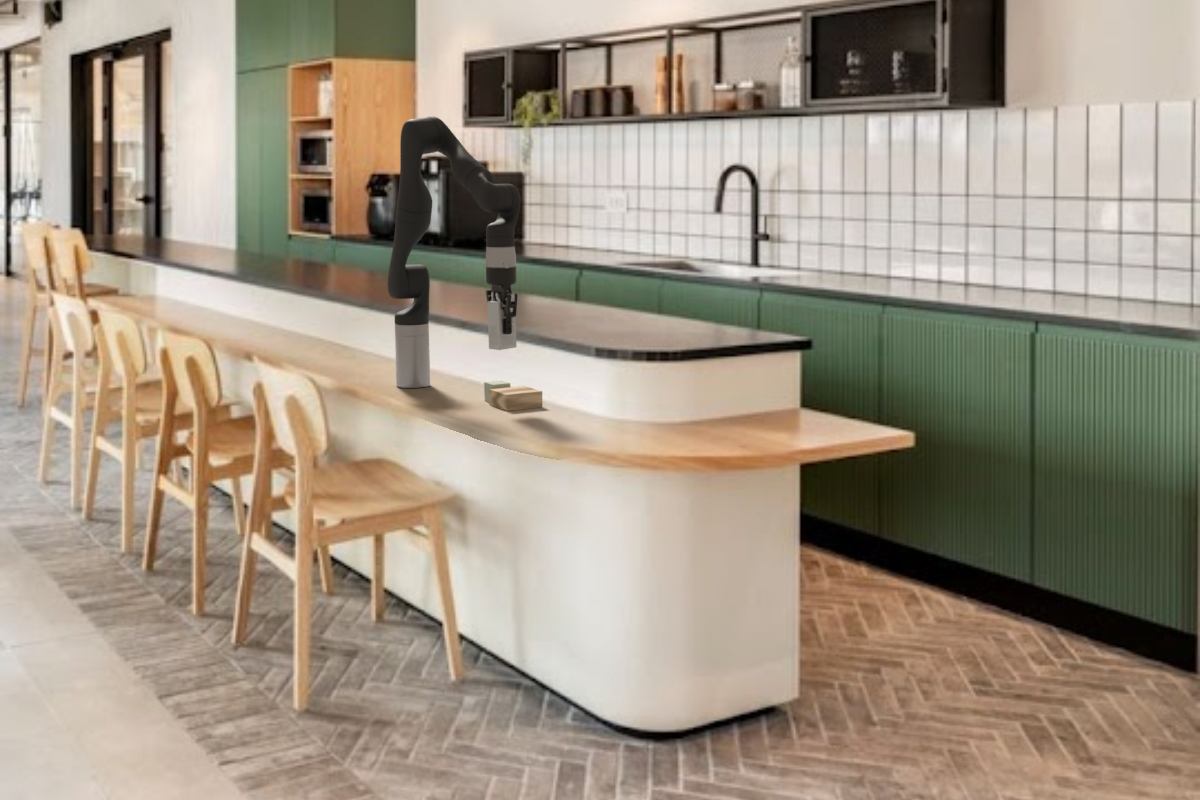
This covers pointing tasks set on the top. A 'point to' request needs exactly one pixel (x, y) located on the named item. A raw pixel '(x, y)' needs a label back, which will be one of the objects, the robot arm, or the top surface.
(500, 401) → the block
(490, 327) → the skincare box
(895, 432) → the top surface
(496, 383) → the sage cube
